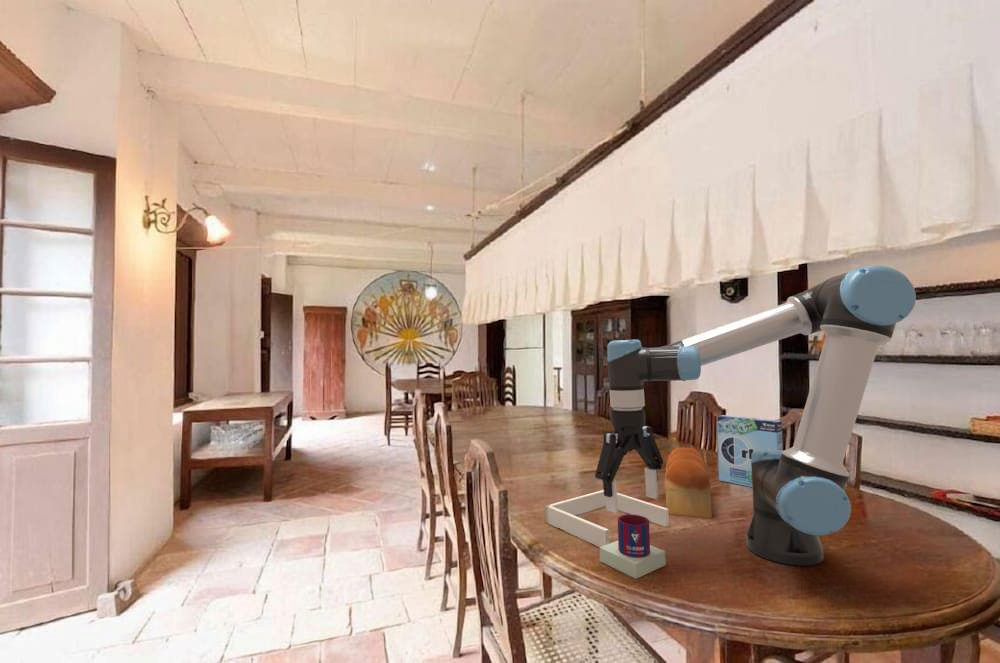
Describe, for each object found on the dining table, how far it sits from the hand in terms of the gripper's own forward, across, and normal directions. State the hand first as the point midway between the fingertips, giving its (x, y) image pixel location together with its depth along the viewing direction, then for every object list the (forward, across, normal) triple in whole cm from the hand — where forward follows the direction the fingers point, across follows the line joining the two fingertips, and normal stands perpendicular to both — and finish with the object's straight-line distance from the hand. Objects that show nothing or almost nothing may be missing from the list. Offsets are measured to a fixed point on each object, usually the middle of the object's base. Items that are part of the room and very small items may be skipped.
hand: (632, 504), depth 101 cm
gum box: (+14, -77, -14) cm, 79 cm away
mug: (+10, 0, -1) cm, 10 cm away
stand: (+13, 0, -1) cm, 13 cm away
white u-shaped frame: (+13, -12, -20) cm, 26 cm away
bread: (+14, -45, -17) cm, 50 cm away
